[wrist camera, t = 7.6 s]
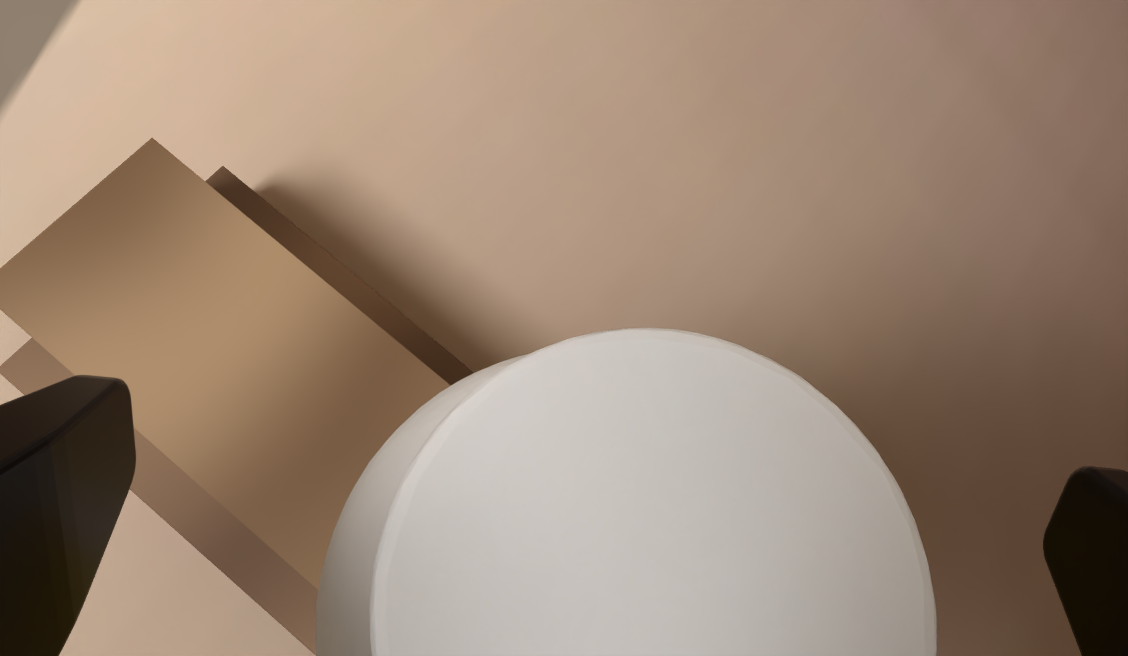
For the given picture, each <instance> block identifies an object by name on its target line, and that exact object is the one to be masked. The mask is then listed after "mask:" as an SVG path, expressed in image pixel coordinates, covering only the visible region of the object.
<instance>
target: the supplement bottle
mask: <svg viewBox="0 0 1128 656" xmlns="http://www.w3.org/2000/svg"><path fill="white" fill-rule="evenodd" d="M315 650H316V656H937V614H936V605H935V598H934V591H933V586H932V580H931V575H930V570H929V565H928V561H927V557H926V554H925V551H924V548H923V544H922V541H921V538H920V535H919V532H918V528H917V525H916V522H915V519H914V517H913V515H912V513H911V511H910V508H909V506H908V504H907V502H906V500H905V497H904V495H903V493H902V491H901V489H900V487H899V485H898V484H897V482H896V480H895V478H894V476H893V475H892V473H891V472H890V470H889V469H888V467H887V466H886V464H885V463H884V461H883V460H882V458H881V456H880V455H879V453H878V452H877V450H876V449H875V447H874V446H873V445H872V444H871V443H870V441H869V440H868V439H867V438H866V437H865V435H864V434H863V433H862V432H861V431H860V429H859V428H858V427H857V426H856V425H855V423H853V422H852V421H851V420H850V419H849V418H848V417H847V416H846V415H845V414H844V413H843V412H842V411H841V410H840V409H839V408H838V407H837V406H836V405H835V404H834V403H833V402H832V401H830V400H829V399H828V398H827V397H826V396H824V395H823V394H822V393H821V392H819V391H818V390H817V389H816V388H814V387H813V386H812V385H811V384H809V383H808V382H807V381H806V380H805V379H803V378H802V377H801V376H799V375H798V374H796V373H794V372H792V371H791V370H789V369H787V368H785V367H784V366H782V365H780V364H779V363H777V362H775V361H773V360H772V359H770V358H768V357H765V356H763V355H761V354H758V353H756V352H754V351H752V350H749V349H747V348H745V347H742V346H740V345H738V344H735V343H731V342H728V341H725V340H722V339H719V338H715V337H711V336H707V335H703V334H699V333H695V332H689V331H682V330H676V329H662V328H630V329H616V330H608V331H600V332H595V333H591V334H586V335H582V336H577V337H573V338H569V339H566V340H564V341H561V342H558V343H555V344H553V345H550V346H547V347H544V348H541V349H539V350H537V351H534V352H532V353H530V354H526V355H521V356H518V357H515V358H512V359H508V360H505V361H502V362H499V363H497V364H494V365H492V366H490V367H487V368H485V369H482V370H480V371H478V372H475V373H473V374H471V375H469V376H467V377H465V378H463V379H461V380H460V381H458V382H456V383H455V384H453V385H451V386H450V387H448V388H446V389H445V390H443V391H441V392H440V393H438V394H437V395H436V396H434V397H433V398H432V399H431V400H429V401H428V402H427V403H425V404H424V405H423V406H421V407H420V408H419V409H418V410H417V411H416V412H415V413H414V414H412V415H411V416H410V417H409V418H408V419H407V420H406V421H405V422H404V423H403V424H402V425H401V426H400V427H399V428H398V429H397V430H396V431H395V432H394V433H393V434H392V435H391V436H390V437H389V439H388V440H387V441H386V442H385V443H384V444H383V446H382V447H381V448H380V449H379V451H378V452H377V453H376V454H375V456H374V457H373V458H372V459H371V460H370V462H369V463H368V465H367V467H366V468H365V470H364V471H363V473H362V475H361V476H360V478H359V479H358V481H357V483H356V484H355V486H354V488H353V490H352V491H351V493H350V495H349V497H348V499H347V501H346V503H345V505H344V507H343V510H342V512H341V515H340V517H339V519H338V522H337V524H336V526H335V529H334V531H333V534H332V537H331V541H330V544H329V547H328V551H327V554H326V557H325V561H324V565H323V568H322V572H321V577H320V584H319V590H318V597H317V603H316V617H315Z"/></svg>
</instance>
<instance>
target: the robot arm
mask: <svg viewBox="0 0 1128 656" xmlns="http://www.w3.org/2000/svg"><path fill="white" fill-rule="evenodd" d="M135 467H136V448H135V436H134V425H133V414H132V403H131V395H130V391H129V388H128V385H127V384H126V383H125V382H124V381H123V380H122V379H119V378H114V377H103V376H92V375H75V376H72V377H70V378H67V379H65V380H62V381H60V382H57V383H55V384H52V385H49V386H47V387H44V388H42V389H39V390H37V391H34V392H32V393H29V394H27V395H24V396H22V397H19V398H17V399H14V400H12V401H9V402H7V403H4V404H2V405H0V656H59V654H60V652H61V650H62V649H63V647H64V645H65V643H66V641H67V639H68V637H69V635H70V633H71V631H72V629H73V627H74V625H75V623H76V621H77V618H78V616H79V614H80V611H81V609H82V607H83V604H84V602H85V600H86V597H87V595H88V592H89V589H90V587H91V584H92V582H93V579H94V577H95V574H96V572H97V569H98V567H99V564H100V562H101V559H102V557H103V554H104V552H105V549H106V547H107V544H108V542H109V539H110V537H111V534H112V532H113V529H114V527H115V524H116V521H117V519H118V516H119V514H120V511H121V509H122V506H123V504H124V501H125V499H126V496H127V494H128V491H129V489H130V486H131V484H132V481H133V477H134V473H135ZM1043 550H1044V556H1045V560H1046V563H1047V565H1048V568H1049V571H1050V573H1051V576H1052V578H1053V581H1054V584H1055V586H1056V589H1057V592H1058V594H1059V597H1060V600H1061V602H1062V605H1063V607H1064V610H1065V613H1066V615H1067V618H1068V621H1069V623H1070V626H1071V629H1072V631H1073V634H1074V636H1075V639H1076V642H1077V644H1078V647H1079V650H1080V652H1081V655H1082V656H1128V472H1126V471H1124V470H1120V469H1113V468H1102V467H1091V466H1085V467H1081V468H1079V469H1077V470H1075V471H1074V472H1073V473H1072V474H1071V475H1070V477H1069V478H1068V480H1067V482H1066V485H1065V487H1064V489H1063V492H1062V494H1061V496H1060V498H1059V501H1058V503H1057V505H1056V507H1055V510H1054V512H1053V514H1052V517H1051V519H1050V521H1049V523H1048V526H1047V528H1046V531H1045V534H1044V539H1043Z"/></svg>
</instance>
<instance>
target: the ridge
mask: <svg viewBox="0 0 1128 656" xmlns="http://www.w3.org/2000/svg"><path fill="white" fill-rule="evenodd" d="M0 310H2V311H3V312H4V313H5V314H6V315H7V316H8V317H9V318H11V319H12V320H13V321H14V322H15V323H16V324H17V325H19V326H20V327H21V328H22V329H23V330H24V331H25V332H26V333H28V334H29V335H30V336H31V337H32V338H31V339H30V340H29V341H28V342H27V343H25V344H24V345H23V346H22V347H21V348H20V349H19V350H18V351H17V352H15V353H14V354H13V355H12V356H11V357H10V358H9V359H8V360H7V361H5V362H4V363H3V364H2V365H1V366H0V374H1V375H3V376H4V377H5V378H6V379H7V380H8V381H9V382H10V383H12V384H13V385H14V386H15V387H16V388H17V389H18V390H19V391H20V392H22V393H23V394H24V395H27V394H29V393H32V392H34V391H37V390H39V389H42V388H44V387H47V386H49V385H52V384H55V383H57V382H60V381H62V380H65V379H67V378H70V377H72V376H75V375H92V376H103V377H114V378H119V379H122V380H123V381H124V382H125V383H126V384H127V385H128V388H129V391H130V395H131V403H132V414H133V425H134V436H135V448H136V467H135V473H134V477H133V481H132V484H131V486H130V490H131V491H132V492H133V493H135V494H136V495H137V496H138V497H139V498H140V499H141V500H142V501H144V502H145V503H146V504H147V505H148V506H149V507H150V508H151V509H152V510H154V511H155V512H156V513H157V514H158V515H159V516H160V517H161V518H163V519H164V520H165V521H166V522H167V523H168V524H169V525H170V526H171V527H173V528H174V529H175V530H176V531H177V532H178V533H179V534H180V535H182V536H183V537H184V538H185V539H186V540H187V541H188V542H189V543H190V544H192V545H193V546H194V547H195V548H196V549H197V550H198V551H199V552H201V553H202V554H203V555H204V556H205V557H206V558H207V559H208V560H210V561H211V562H212V563H213V564H214V565H215V566H216V567H217V568H218V569H220V570H221V571H222V572H223V573H224V574H225V575H226V576H227V577H229V578H230V579H231V580H232V581H233V582H234V583H235V584H236V585H237V586H239V587H240V588H241V589H242V590H243V591H244V592H245V593H246V594H248V595H249V596H250V597H251V598H252V599H253V600H254V601H255V602H256V603H258V604H259V605H260V606H261V607H262V608H263V609H264V610H265V611H267V612H268V613H269V614H270V615H271V616H272V617H273V618H274V619H275V620H277V621H278V622H279V623H280V624H281V625H282V626H283V627H284V628H286V629H287V630H288V631H289V632H290V633H291V634H292V635H293V636H295V637H296V638H297V639H298V640H299V641H300V642H301V643H302V644H303V645H305V646H306V647H307V648H308V649H309V650H310V651H311V652H312V653H314V654H315V655H316V650H315V617H316V603H317V597H318V590H319V584H320V577H321V572H322V568H323V565H324V561H325V557H326V554H327V551H328V547H329V544H330V541H331V537H332V534H333V531H334V529H335V526H336V524H337V522H338V519H339V517H340V515H341V512H342V510H343V507H344V505H345V503H346V501H347V499H348V497H349V495H350V493H351V491H352V490H353V488H354V486H355V484H356V483H357V481H358V479H359V478H360V476H361V475H362V473H363V471H364V470H365V468H366V467H367V465H368V463H369V462H370V460H371V459H372V458H373V457H374V456H375V454H376V453H377V452H378V451H379V449H380V448H381V447H382V446H383V444H384V443H385V442H386V441H387V440H388V439H389V437H390V436H391V435H392V434H393V433H394V432H395V431H396V430H397V429H398V428H399V427H400V426H401V425H402V424H403V423H404V422H405V421H406V420H407V419H408V418H409V417H410V416H411V415H412V414H414V413H415V412H416V411H417V410H418V409H419V408H420V407H421V406H423V405H424V404H425V403H427V402H428V401H429V400H431V399H432V398H433V397H434V396H436V395H437V394H438V393H440V392H441V391H443V390H445V389H446V388H448V387H450V386H451V385H453V384H455V383H456V382H458V381H460V380H461V379H463V378H465V377H467V376H469V375H471V374H473V372H472V371H471V370H470V369H468V368H467V367H466V366H465V365H464V364H462V363H461V362H460V361H459V360H458V359H456V358H455V357H454V356H453V355H451V354H450V353H449V352H448V351H447V350H445V349H444V348H443V347H442V346H441V345H439V344H438V343H437V342H436V341H435V340H433V339H432V338H431V337H430V336H428V335H427V334H426V333H425V332H424V331H422V330H421V329H420V328H419V327H418V326H416V325H415V324H414V323H413V322H412V321H410V320H409V319H408V318H407V317H405V316H404V315H403V314H402V313H401V312H399V311H398V310H397V309H396V308H395V307H393V306H392V305H391V304H390V303H388V302H387V301H386V300H385V299H384V298H382V297H381V296H380V295H379V294H378V293H376V292H375V291H374V290H373V289H372V288H370V287H369V286H368V285H367V284H365V283H364V282H363V281H362V280H361V279H359V278H358V277H357V276H356V275H355V274H353V273H352V272H351V271H350V270H348V269H347V268H346V267H345V266H344V265H342V264H341V263H340V262H339V261H338V260H336V259H335V258H334V257H333V256H332V255H330V254H329V253H328V252H327V251H325V250H324V249H323V248H322V247H321V246H319V245H318V244H317V243H316V242H315V241H313V240H312V239H311V238H310V237H309V236H307V235H306V234H305V233H304V232H302V231H301V230H300V229H299V228H298V227H296V226H295V225H294V224H293V223H292V222H290V221H289V220H288V219H287V218H285V217H284V216H283V215H282V214H281V213H279V212H278V211H277V210H276V209H275V208H273V207H272V206H271V205H270V204H269V203H267V202H266V201H265V200H264V199H262V198H261V197H260V196H259V195H258V194H256V193H255V192H254V191H253V190H252V189H250V188H249V187H248V186H247V185H245V184H244V183H243V182H242V181H241V180H239V179H238V178H237V177H236V176H235V175H233V174H232V173H231V172H230V171H229V170H227V169H226V168H225V167H224V166H222V167H221V168H220V169H219V170H218V171H216V172H215V173H214V174H213V175H212V176H211V177H210V178H209V179H208V180H206V181H204V180H203V179H201V178H200V177H199V176H198V175H196V174H195V173H194V172H193V171H192V170H190V169H189V168H188V167H187V166H186V165H184V164H183V163H182V162H181V161H180V160H178V159H177V158H176V157H175V156H174V155H172V154H171V153H170V152H169V151H168V150H166V149H165V148H164V147H163V146H162V145H160V144H159V143H158V142H157V141H156V140H154V139H153V138H151V139H150V140H149V141H148V142H147V143H145V144H144V145H143V146H142V147H141V148H140V149H138V150H137V151H136V152H135V153H134V154H133V155H131V156H130V157H129V158H128V159H127V160H126V161H124V162H123V163H122V164H121V165H120V166H119V167H118V168H116V169H115V170H114V171H113V172H112V173H111V174H109V175H108V176H107V177H106V178H105V179H104V180H102V181H101V182H100V183H99V184H98V185H97V186H95V187H94V188H93V189H92V190H91V191H90V192H88V193H87V194H86V195H85V196H84V197H83V198H82V199H80V200H79V201H78V202H77V203H76V204H75V205H73V206H72V207H71V208H70V209H69V210H68V211H66V212H65V213H64V214H63V215H62V216H61V217H59V218H58V219H57V220H56V221H55V222H54V223H52V224H51V225H50V226H49V227H48V228H47V229H45V230H44V231H43V232H42V233H41V234H40V235H39V236H37V237H36V238H35V239H34V240H33V241H32V242H30V243H29V244H28V245H27V246H26V247H25V248H23V249H22V250H21V251H20V252H19V253H18V254H16V255H15V256H14V257H13V258H12V259H11V260H9V261H8V262H7V263H6V264H5V265H4V266H3V267H1V268H0Z"/></svg>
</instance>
